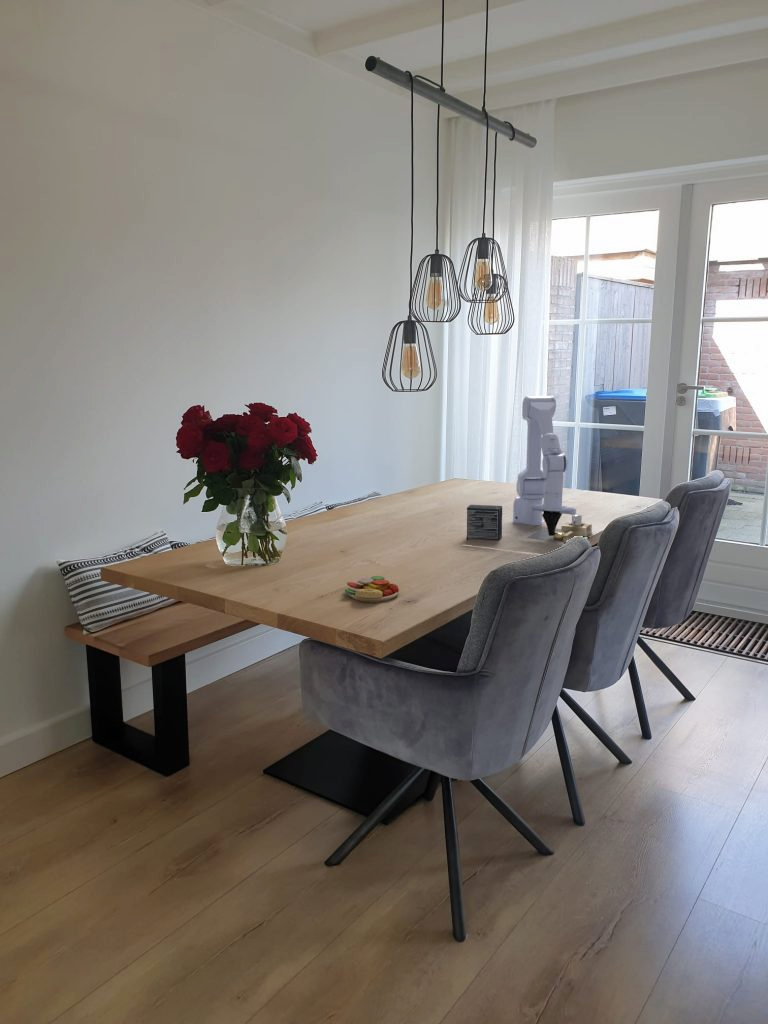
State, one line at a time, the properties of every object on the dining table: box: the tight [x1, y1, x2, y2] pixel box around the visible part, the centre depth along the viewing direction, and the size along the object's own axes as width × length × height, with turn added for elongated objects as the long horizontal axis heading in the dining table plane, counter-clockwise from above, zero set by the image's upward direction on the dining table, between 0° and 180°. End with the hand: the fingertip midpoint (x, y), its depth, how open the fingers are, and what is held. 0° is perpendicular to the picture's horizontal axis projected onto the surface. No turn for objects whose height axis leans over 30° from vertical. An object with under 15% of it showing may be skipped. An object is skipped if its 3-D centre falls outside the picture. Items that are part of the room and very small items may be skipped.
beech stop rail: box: [562, 531, 573, 543], centre depth 254 cm, size 1×6×2 cm, turn 150°
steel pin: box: [571, 514, 583, 526], centre depth 262 cm, size 3×3×6 cm
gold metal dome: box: [553, 532, 566, 540], centre depth 256 cm, size 4×4×2 cm
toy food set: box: [344, 575, 400, 603], centre depth 201 cm, size 13×13×3 cm
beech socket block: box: [560, 520, 593, 537], centre depth 263 cm, size 8×8×3 cm
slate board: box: [526, 526, 574, 543], centre depth 261 cm, size 15×17×1 cm
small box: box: [466, 504, 503, 541], centre depth 258 cm, size 11×6×10 cm, turn 74°
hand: (551, 535), depth 257 cm, fingers closed
